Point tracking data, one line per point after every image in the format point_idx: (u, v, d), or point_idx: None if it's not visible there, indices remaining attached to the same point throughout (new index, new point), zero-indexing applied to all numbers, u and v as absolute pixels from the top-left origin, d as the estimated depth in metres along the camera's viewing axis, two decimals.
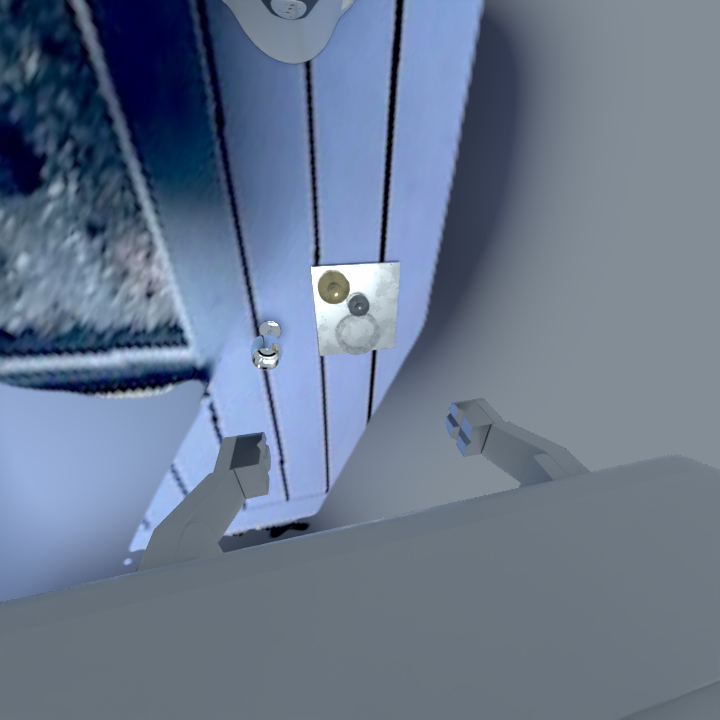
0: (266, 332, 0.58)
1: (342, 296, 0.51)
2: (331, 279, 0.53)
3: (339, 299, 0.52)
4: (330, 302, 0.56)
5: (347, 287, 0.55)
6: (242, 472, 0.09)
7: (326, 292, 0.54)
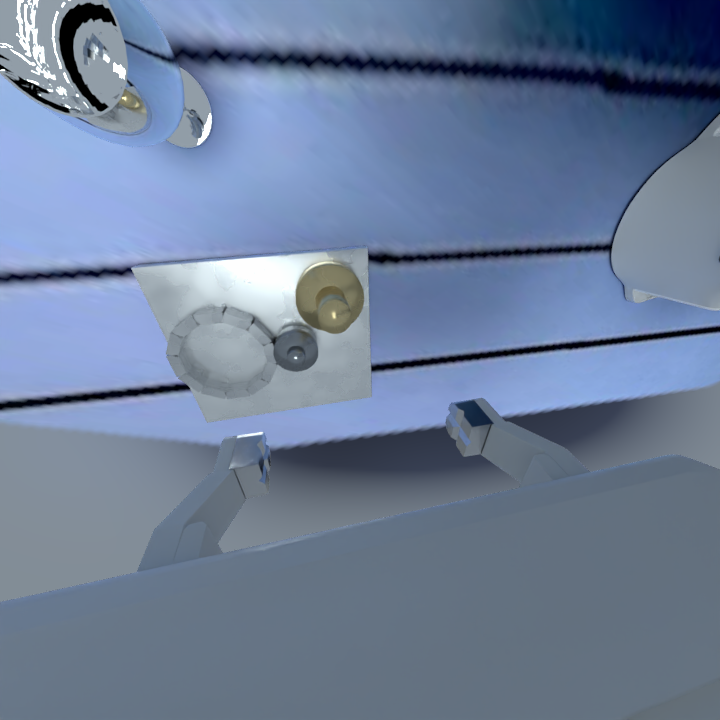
0: None
1: (333, 330, 0.23)
2: (350, 294, 0.26)
3: (326, 325, 0.22)
4: (299, 295, 0.25)
5: None
6: (242, 472, 0.09)
7: (321, 285, 0.25)
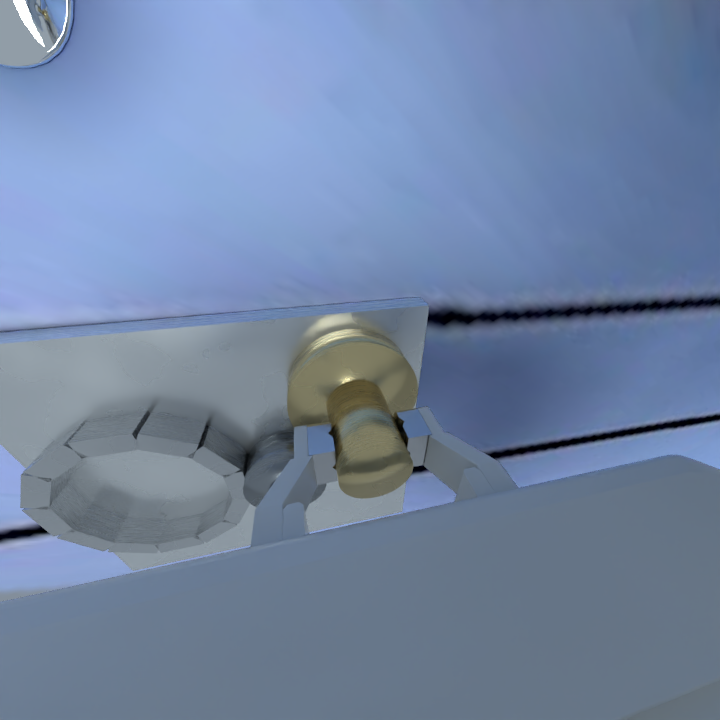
0: None
1: (370, 493, 0.11)
2: (392, 389, 0.13)
3: (355, 487, 0.10)
4: (294, 399, 0.12)
5: None
6: (319, 458, 0.10)
7: (339, 379, 0.12)
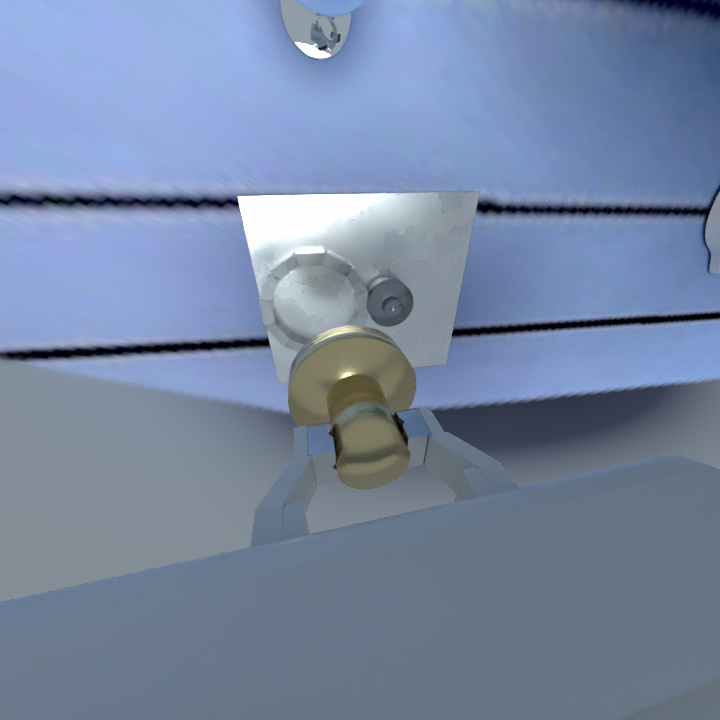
0: None
1: (368, 484, 0.11)
2: (391, 384, 0.14)
3: (353, 478, 0.10)
4: (295, 393, 0.13)
5: None
6: (319, 459, 0.10)
7: (339, 374, 0.13)
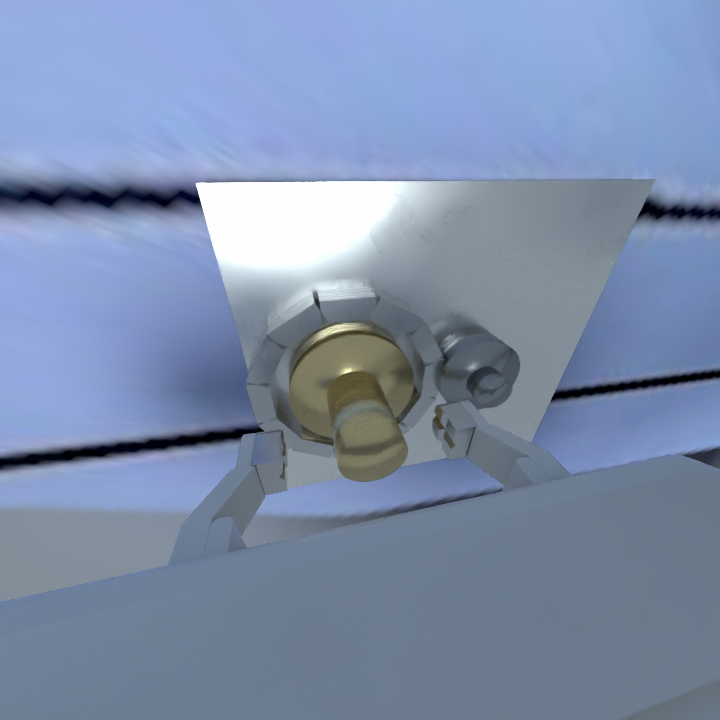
0: None
1: (367, 476, 0.11)
2: (389, 381, 0.14)
3: (353, 470, 0.11)
4: (296, 389, 0.13)
5: None
6: (263, 468, 0.10)
7: (338, 370, 0.13)
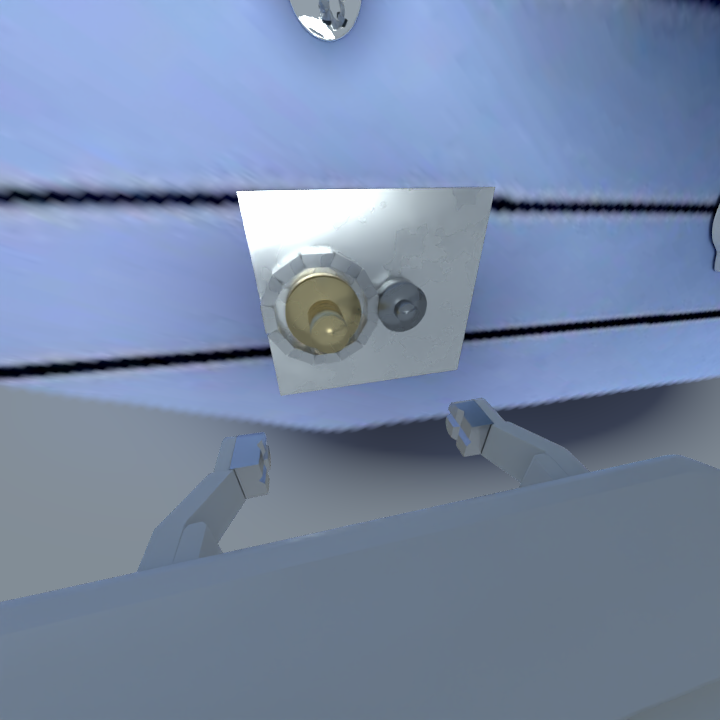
0: None
1: (328, 349, 0.20)
2: (345, 307, 0.23)
3: (320, 343, 0.20)
4: (289, 310, 0.22)
5: None
6: (242, 472, 0.09)
7: (314, 298, 0.22)
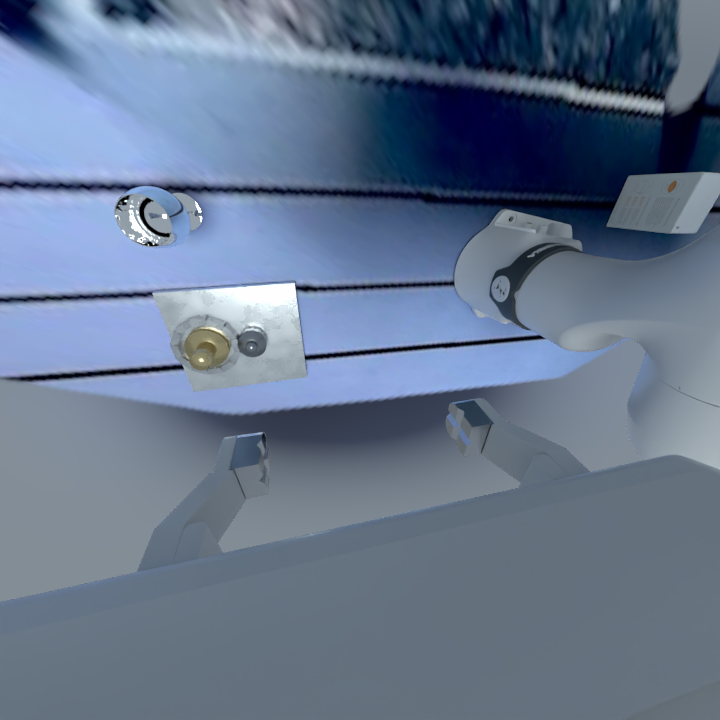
0: None
1: (200, 368, 0.41)
2: (218, 345, 0.44)
3: (195, 366, 0.41)
4: (186, 347, 0.43)
5: (213, 363, 0.45)
6: (242, 472, 0.09)
7: (199, 341, 0.43)
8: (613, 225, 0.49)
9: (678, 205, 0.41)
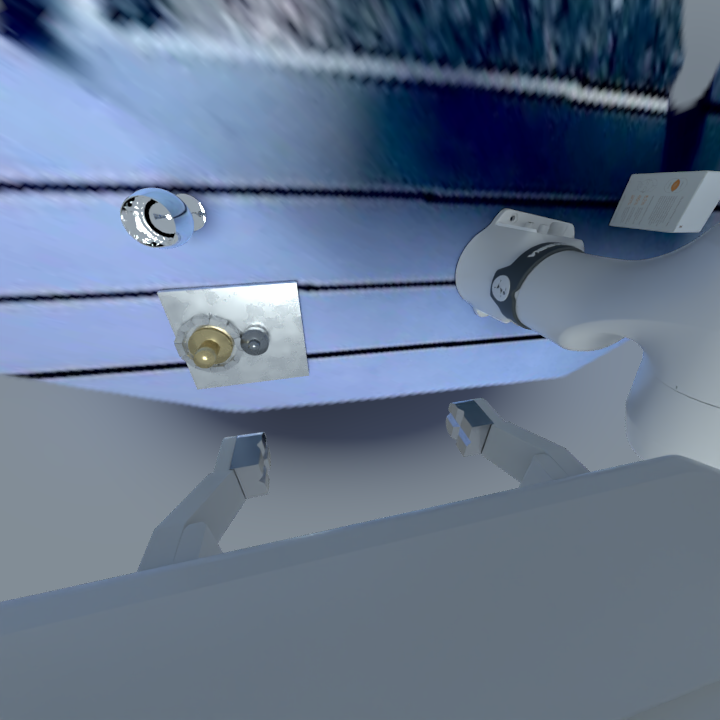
0: None
1: (204, 366, 0.42)
2: (221, 343, 0.44)
3: (199, 364, 0.41)
4: (190, 345, 0.44)
5: (216, 361, 0.46)
6: (242, 472, 0.09)
7: (202, 339, 0.43)
8: (616, 224, 0.49)
9: (681, 204, 0.41)
